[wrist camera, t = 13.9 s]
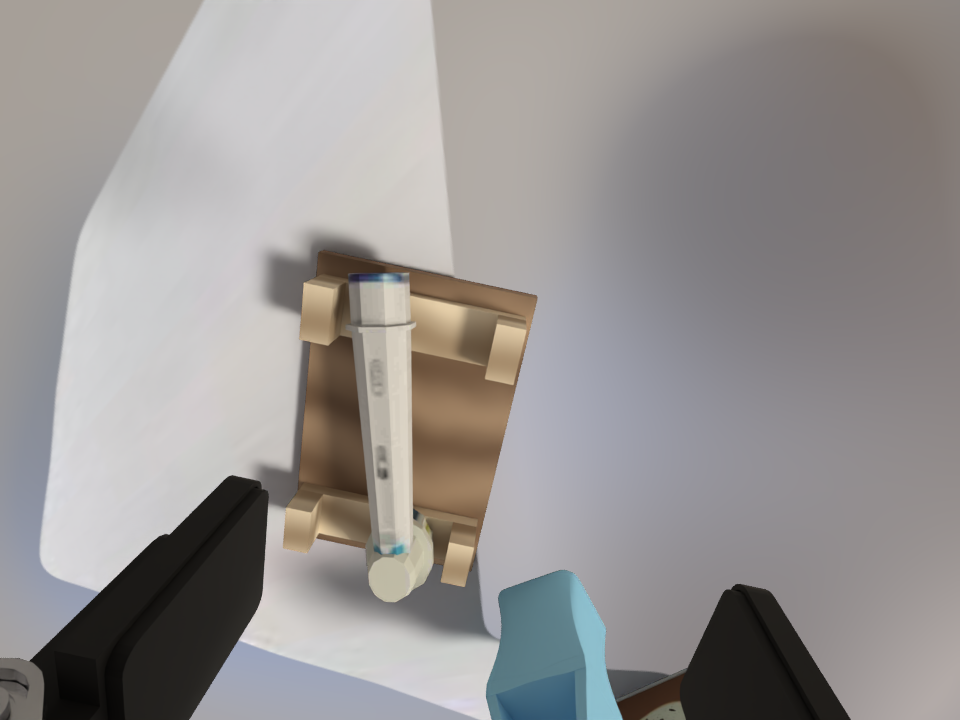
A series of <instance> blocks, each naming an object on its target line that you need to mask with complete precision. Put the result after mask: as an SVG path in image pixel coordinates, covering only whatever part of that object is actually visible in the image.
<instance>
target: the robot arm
mask: <svg viewBox="0 0 960 720" xmlns="http://www.w3.org/2000/svg"><path fill="white" fill-rule="evenodd" d="M268 498H269V496H268V491H266V490H262V488H261V483H260V482H259V481H256V480H251V479H247V478H242V477H237V476H233V475H232V476H229V477H227V478H226V479H225V480H224V481H223V482H222V483H221V484H220V485H219V486H218V487H217V488H216V489H215V490H214V491H213V492H212V493H211V494H210V495H209V496H208V497H207V498H206V499H205V500H204V501H203V502H202V503H201V504H200V505H199V506H198V507H197V508H196V509H195V510H194V511H193V512H192V513H191V514H190V515H189V516H188V517H187V518H186V519H185V520H184V521H183V522H182V523H181V524H180V525H179V526H178V527H177V528H176V529H175V530H174V531H173V532H172V533H171V534H170V535H168V534H164V535H162V536H159V537H158V538H157V539H155V540H154V541H153V542H152V543H151V544H149V545H148V546H147V547H146V548H145V549H144V550H143V551H142V552H141V553H140V554H139V555H138V556H137V557H136V558H135V559H134V560H133V561H132V562H131V563H130V564H129V565H128V566H127V567H126V568H125V569H124V570H123V571H122V572H121V573H120V574H119V575H118V576H117V577H115V578H114V579H113V580H112V581H111V582H110V583H109V584H108V585H107V586H106V587H105V588H104V589H103V590H102V591H101V592H100V593H99V594H98V595H97V596H96V597H95V598H94V599H93V600H92V601H91V602H90V603H89V604H88V605H87V606H86V607H85V608H84V609H83V610H82V611H80V613H78V614H77V615H76V616H75V617H74V618H73V619H72V620H71V621H70V622H69V623H68V624H67V625H66V626H65V627H64V628H63V629H62V630H61V631H60V632H59V633H58V634H57V635H56V636H55V637H54V638H53V639H52V640H51V641H50V642H49V643H48V644H47V645H46V646H44V647H43V648H42V649H41V650H40V652H38V653H37V654H36V655H35V656H34V657H33V658H32V659H31V660H30V661H26V660H23V659H20V658H0V720H189V719H190V718H191V716H192V714H193V713H194V711H195V709H196V708H197V706H198V705H199V703H200V701H201V700H202V698H203V696H204V695H205V693H206V692H207V690H208V688H209V687H210V685H211V684H212V682H213V680H214V679H215V677H216V675H217V674H218V672H219V671H220V669H221V667H222V666H223V664H224V662H225V661H226V659H227V658H228V656H229V654H230V653H231V651H232V649H233V648H234V646H235V645H236V643H237V641H238V640H239V638H240V637H241V635H242V633H243V632H244V630H245V628H246V627H247V625H248V624H249V622H250V620H251V619H252V617H253V615H254V614H255V612H256V610H257V608H258V606H259V603H260V600H261V597H262V591H263V576H264V560H265V545H266V529H267V513H268ZM680 702H681V706H682V709H683V712H684V715H685V718H686V720H851V719H850V718H849V716H848V715H847V713H846V711H845V710H844V708H843V706H842V705H841V703H840V702H839V700H838V699H837V697H836V695H835V694H834V692H833V690H832V689H831V687H830V686H829V684H828V683H827V681H826V679H825V678H824V676H823V674H822V673H821V672H820V670H819V668H818V667H817V665H816V663H815V662H814V660H813V658H812V657H811V655H810V654H809V652H808V650H807V649H806V647H805V646H804V644H803V642H802V641H801V639H800V637H799V636H798V634H797V633H796V631H795V629H794V628H793V626H792V625H791V623H790V621H789V620H788V618H787V617H786V616H785V614H784V612H783V610H782V609H781V607H780V605H779V604H778V602H777V601H776V599H775V597H774V596H773V595H772V593H771V592H769V591H768V590H766V589H761V588H756V587H752V586H747V585H742V584H736V585H735V586H733V587H732V589H731V590H725V591H724V592H723V594H722V596H721V598H720V600H719V602H718V605H717V607H716V609H715V611H714V613H713V615H712V617H711V620H710V622H709V624H708V626H707V628H706V630H705V632H704V634H703V637H702V639H701V641H700V643H699V645H698V647H697V649H696V651H695V654H694V656H693V658H692V660H691V662H690V664H689V666H688V668H687V671H686V673H685V675H684V677H683V679H682V681H681V684H680Z"/></svg>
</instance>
